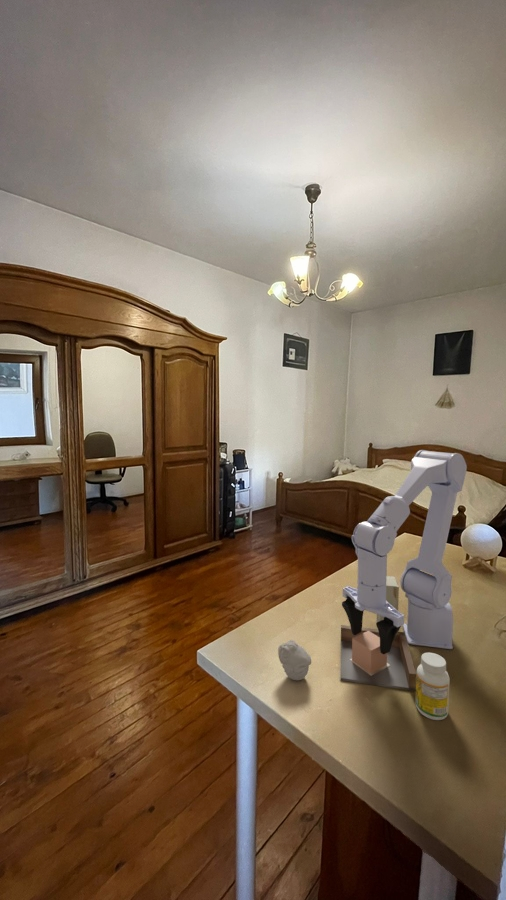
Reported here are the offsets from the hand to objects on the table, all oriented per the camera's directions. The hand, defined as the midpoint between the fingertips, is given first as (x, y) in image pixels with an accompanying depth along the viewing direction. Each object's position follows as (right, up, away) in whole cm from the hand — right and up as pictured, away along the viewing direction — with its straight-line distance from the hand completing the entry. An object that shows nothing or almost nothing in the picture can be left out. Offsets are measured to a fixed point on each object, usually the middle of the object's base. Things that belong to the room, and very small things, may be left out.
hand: (370, 642), depth 80 cm
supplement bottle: (+7, -7, -11) cm, 15 cm away
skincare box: (+8, -4, +14) cm, 17 cm away
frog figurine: (-16, -6, -3) cm, 17 cm away
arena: (+1, -5, +1) cm, 5 cm away
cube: (0, -4, 0) cm, 5 cm away
